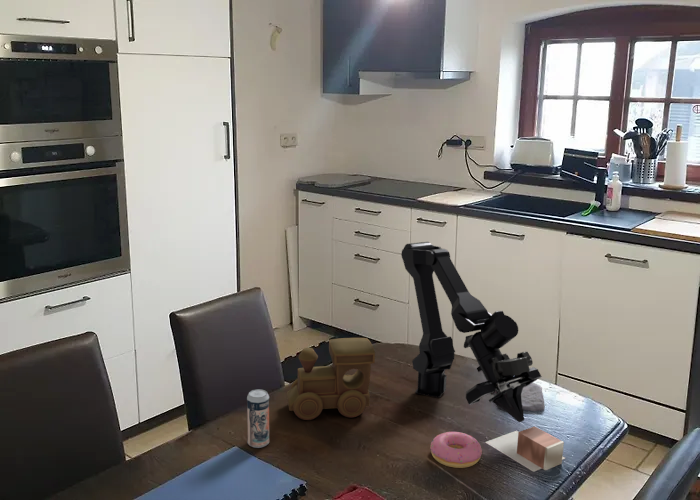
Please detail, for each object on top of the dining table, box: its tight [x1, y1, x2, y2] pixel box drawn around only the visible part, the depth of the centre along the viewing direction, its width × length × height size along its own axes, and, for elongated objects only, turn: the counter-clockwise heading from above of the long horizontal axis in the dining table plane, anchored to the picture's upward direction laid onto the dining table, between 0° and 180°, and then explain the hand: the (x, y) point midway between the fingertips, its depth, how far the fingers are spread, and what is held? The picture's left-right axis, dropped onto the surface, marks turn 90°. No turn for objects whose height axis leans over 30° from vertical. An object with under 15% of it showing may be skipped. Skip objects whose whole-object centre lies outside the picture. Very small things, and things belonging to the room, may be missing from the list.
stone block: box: [521, 382, 546, 412], centre depth 173 cm, size 12×5×10 cm
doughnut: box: [429, 431, 483, 469], centre depth 147 cm, size 11×11×4 cm
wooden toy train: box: [286, 337, 376, 421], centre depth 166 cm, size 20×11×17 cm, turn 99°
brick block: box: [517, 426, 565, 471], centre depth 147 cm, size 5×5×8 cm
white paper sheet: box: [485, 430, 566, 473], centre depth 151 cm, size 14×10×1 cm
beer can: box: [246, 388, 270, 449], centre depth 150 cm, size 5×5×12 cm
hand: (521, 421), depth 150 cm, fingers closed
